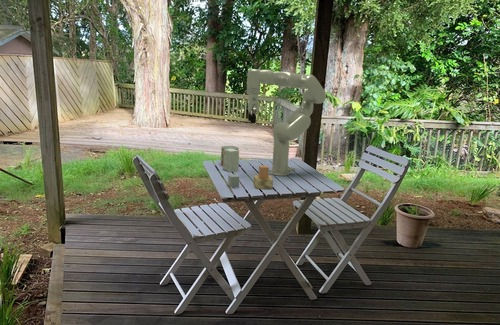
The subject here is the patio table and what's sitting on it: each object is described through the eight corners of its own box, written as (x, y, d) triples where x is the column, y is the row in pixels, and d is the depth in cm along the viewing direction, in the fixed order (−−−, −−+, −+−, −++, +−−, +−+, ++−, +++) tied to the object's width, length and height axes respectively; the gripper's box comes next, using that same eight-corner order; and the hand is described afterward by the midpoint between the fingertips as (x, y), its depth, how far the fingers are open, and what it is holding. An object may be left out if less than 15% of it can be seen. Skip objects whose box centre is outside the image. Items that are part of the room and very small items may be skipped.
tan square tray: (269, 184, 207) (270, 175, 206) (272, 188, 198) (272, 179, 197) (253, 183, 206) (253, 174, 205) (255, 188, 197) (256, 179, 196)
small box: (238, 171, 233) (239, 150, 230) (230, 172, 229) (231, 151, 226) (230, 168, 239) (231, 148, 236) (222, 169, 235) (223, 149, 232)
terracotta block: (266, 176, 203) (267, 165, 202) (268, 178, 199) (268, 167, 198) (258, 176, 203) (259, 165, 201) (259, 178, 198) (260, 167, 197)
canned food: (219, 163, 252) (220, 145, 249) (236, 163, 254) (236, 145, 252) (222, 167, 241) (222, 148, 238) (239, 167, 243) (240, 149, 241)
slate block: (235, 185, 202) (236, 174, 200) (238, 187, 198) (239, 176, 196) (228, 185, 200) (228, 174, 199) (230, 188, 196) (231, 177, 195)
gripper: (262, 92, 203) (260, 124, 207) (257, 91, 220) (256, 120, 223) (248, 92, 202) (247, 123, 206) (245, 90, 219) (243, 120, 222)
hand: (251, 121), depth 215 cm, fingers open, 9 cm apart
